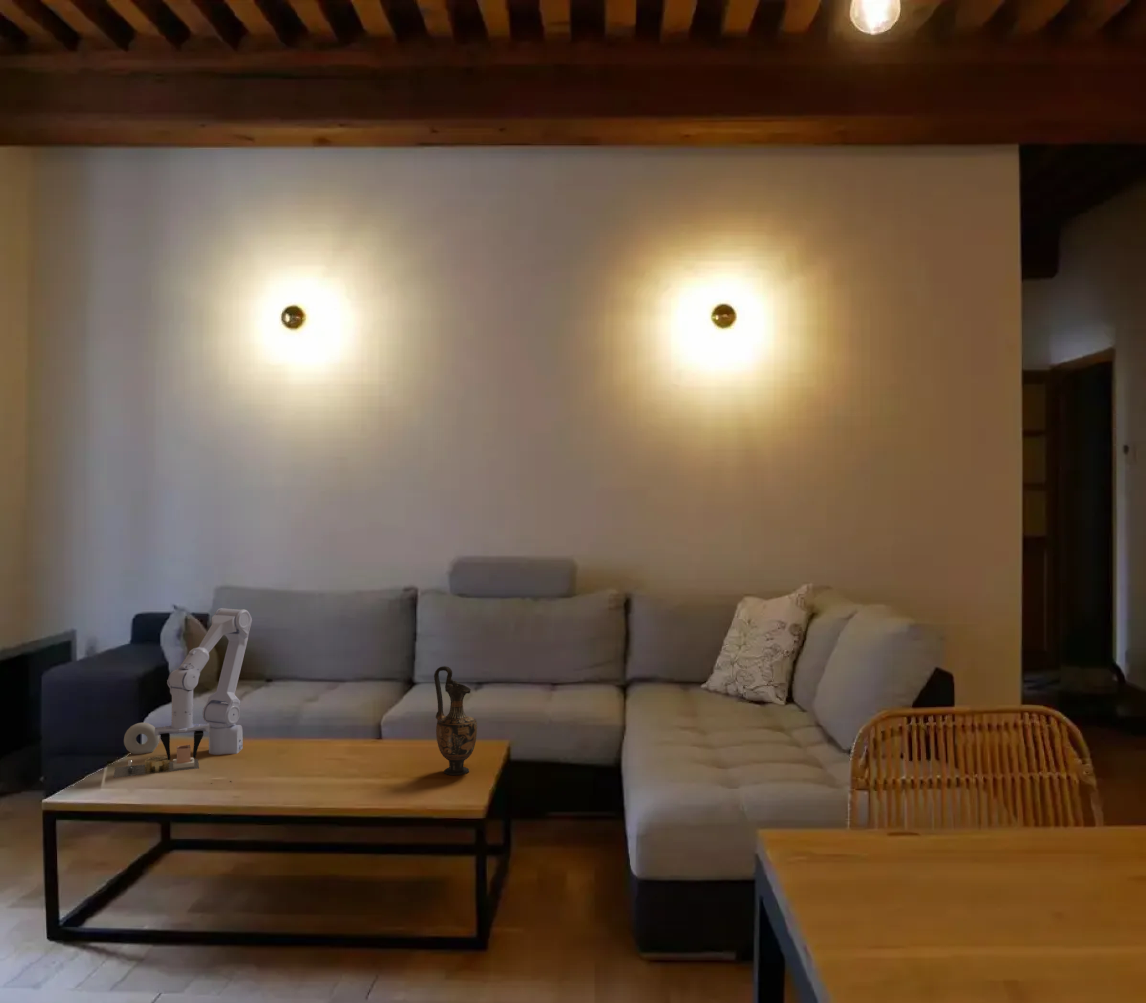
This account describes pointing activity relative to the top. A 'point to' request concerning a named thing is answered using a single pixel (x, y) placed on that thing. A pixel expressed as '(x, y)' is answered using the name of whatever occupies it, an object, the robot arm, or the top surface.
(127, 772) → the carrier plate
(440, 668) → the vase
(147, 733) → the donut
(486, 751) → the top surface
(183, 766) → the square sleeve on tile
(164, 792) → the top surface
